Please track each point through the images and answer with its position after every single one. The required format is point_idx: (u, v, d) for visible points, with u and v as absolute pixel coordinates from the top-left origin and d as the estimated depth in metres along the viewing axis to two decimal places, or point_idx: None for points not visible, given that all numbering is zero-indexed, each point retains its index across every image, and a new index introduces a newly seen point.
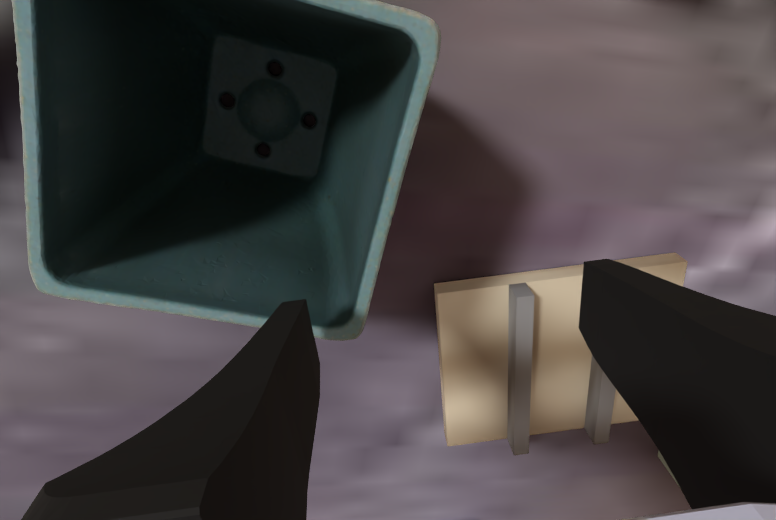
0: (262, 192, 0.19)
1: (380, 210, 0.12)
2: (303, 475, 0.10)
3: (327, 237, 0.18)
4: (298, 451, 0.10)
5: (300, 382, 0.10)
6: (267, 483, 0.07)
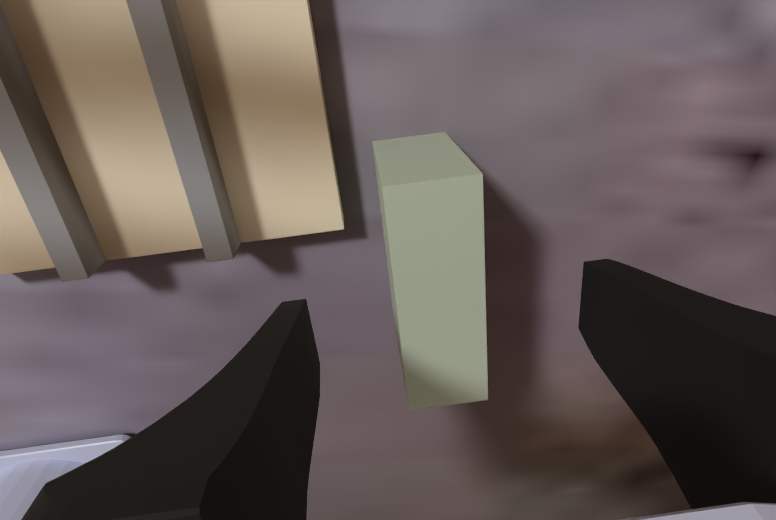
0: None
1: None
2: (303, 475, 0.10)
3: None
4: (298, 451, 0.10)
5: (300, 382, 0.10)
6: (267, 483, 0.07)
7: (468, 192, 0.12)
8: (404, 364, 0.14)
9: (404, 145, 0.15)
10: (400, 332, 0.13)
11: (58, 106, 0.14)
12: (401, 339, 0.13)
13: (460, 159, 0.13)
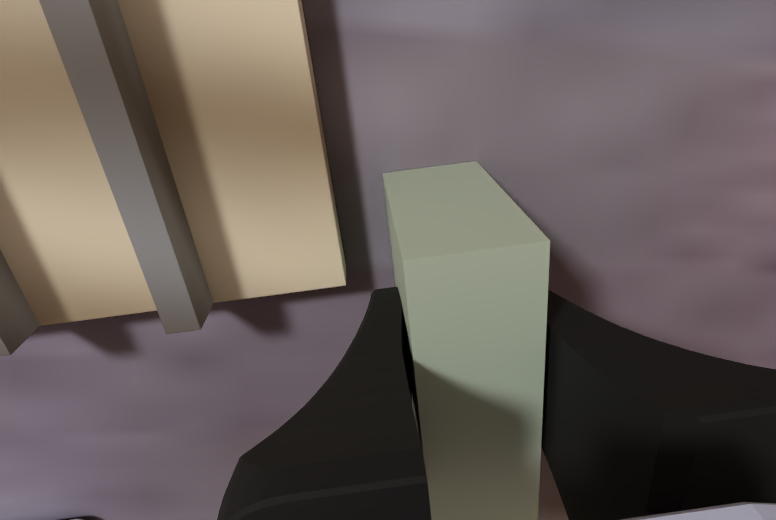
0: None
1: None
2: None
3: None
4: None
5: (406, 367, 0.10)
6: None
7: (528, 266, 0.08)
8: (428, 484, 0.10)
9: (426, 183, 0.11)
10: (423, 446, 0.10)
11: None
12: (425, 455, 0.10)
13: (509, 211, 0.09)
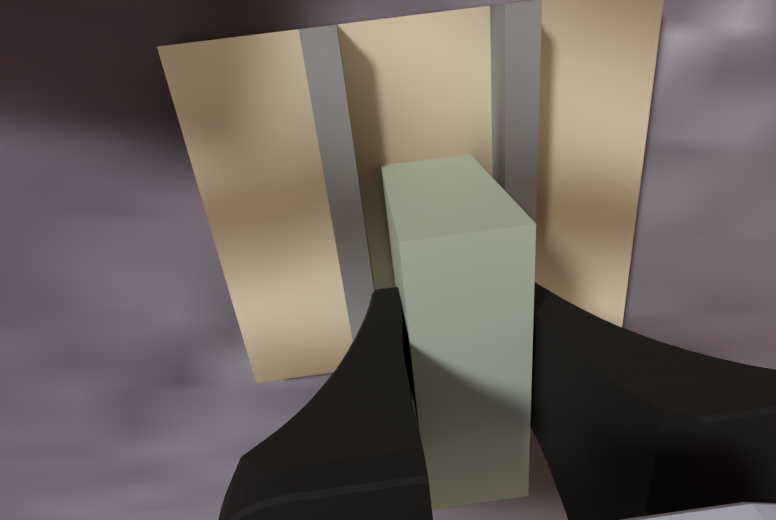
0: None
1: None
2: None
3: None
4: None
5: (407, 367, 0.10)
6: None
7: (516, 248, 0.09)
8: None
9: (422, 173, 0.12)
10: (419, 421, 0.10)
11: (381, 226, 0.14)
12: (420, 429, 0.10)
13: (499, 198, 0.10)
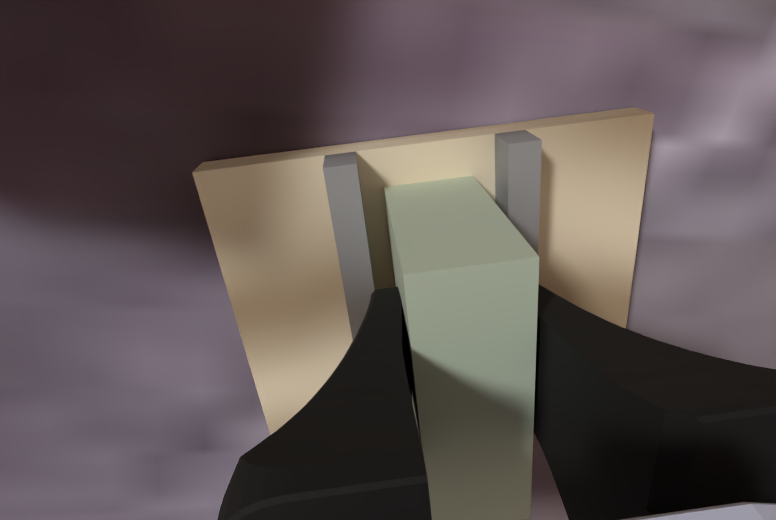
0: None
1: None
2: None
3: None
4: None
5: (407, 367, 0.10)
6: None
7: (519, 280, 0.09)
8: None
9: (425, 197, 0.12)
10: (422, 446, 0.10)
11: None
12: (424, 454, 0.10)
13: (503, 226, 0.10)
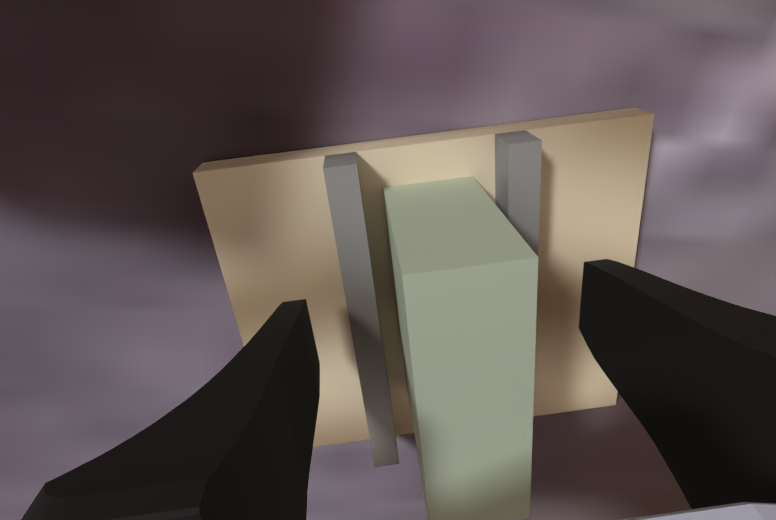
0: None
1: None
2: (303, 475, 0.10)
3: None
4: (298, 451, 0.10)
5: (300, 382, 0.10)
6: (267, 483, 0.07)
7: (518, 280, 0.09)
8: (426, 482, 0.11)
9: (424, 198, 0.12)
10: (422, 446, 0.10)
11: (393, 318, 0.15)
12: (423, 455, 0.10)
13: (502, 227, 0.10)
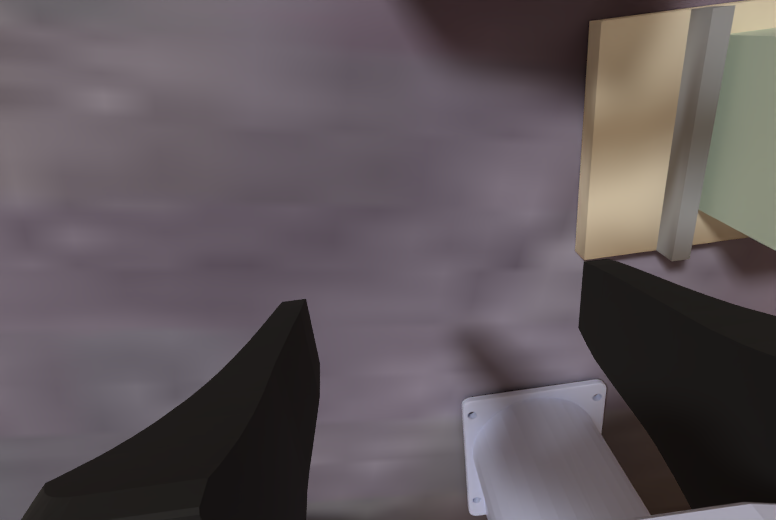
0: None
1: None
2: (303, 475, 0.10)
3: None
4: (298, 451, 0.10)
5: (300, 382, 0.10)
6: (267, 483, 0.07)
7: None
8: None
9: (771, 32, 0.17)
10: None
11: None
12: None
13: None
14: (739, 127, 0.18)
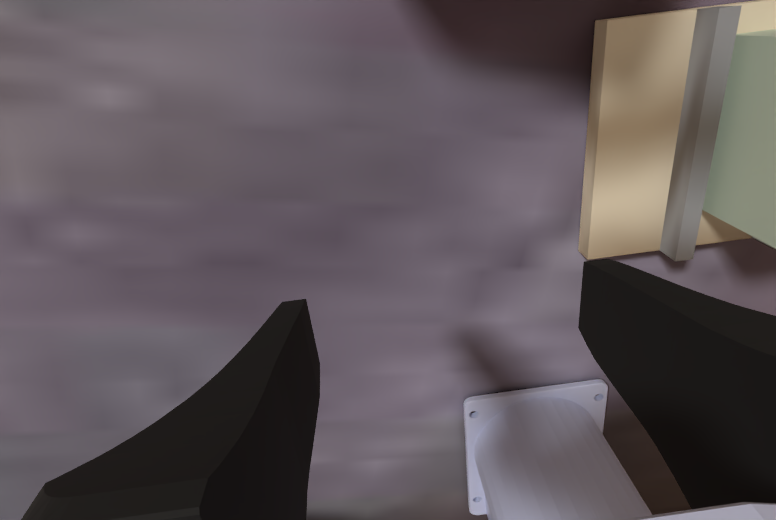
0: None
1: None
2: (303, 475, 0.10)
3: None
4: (298, 451, 0.10)
5: (300, 382, 0.10)
6: (267, 483, 0.07)
7: None
8: None
9: None
10: None
11: None
12: None
13: None
14: (744, 127, 0.18)
